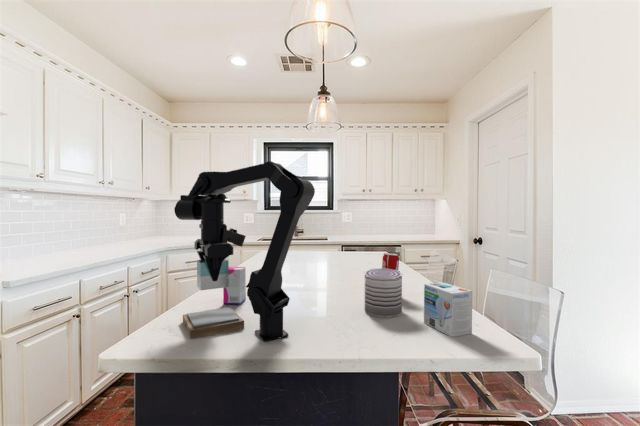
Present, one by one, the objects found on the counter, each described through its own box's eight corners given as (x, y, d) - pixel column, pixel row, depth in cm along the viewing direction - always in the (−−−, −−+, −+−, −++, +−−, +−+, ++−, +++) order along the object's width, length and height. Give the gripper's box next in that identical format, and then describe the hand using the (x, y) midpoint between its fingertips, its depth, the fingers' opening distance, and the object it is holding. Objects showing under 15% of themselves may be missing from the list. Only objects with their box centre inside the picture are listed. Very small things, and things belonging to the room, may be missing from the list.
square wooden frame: (244, 328, 83) (244, 318, 82) (190, 338, 76) (190, 328, 76) (230, 314, 94) (230, 305, 94) (182, 322, 87) (182, 313, 87)
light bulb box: (422, 323, 87) (423, 283, 87) (442, 320, 89) (442, 281, 89) (451, 337, 77) (452, 293, 77) (473, 334, 79) (473, 290, 79)
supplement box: (246, 300, 109) (246, 266, 108) (240, 305, 103) (240, 269, 103) (229, 299, 109) (229, 266, 109) (222, 304, 103) (222, 269, 103)
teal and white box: (223, 283, 89) (223, 258, 89) (228, 286, 84) (228, 260, 84) (197, 286, 85) (197, 260, 85) (200, 290, 81) (200, 262, 81)
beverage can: (377, 294, 116) (377, 252, 116) (393, 292, 118) (393, 252, 118) (385, 298, 110) (385, 255, 110) (402, 296, 112) (402, 254, 112)
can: (408, 310, 98) (408, 271, 97) (391, 320, 89) (391, 277, 89) (375, 303, 105) (375, 266, 105) (356, 311, 96) (356, 272, 96)
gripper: (253, 220, 81) (253, 282, 81) (233, 218, 97) (233, 270, 97) (207, 221, 75) (208, 288, 75) (193, 219, 91) (194, 274, 91)
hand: (212, 279), depth 85 cm, fingers closed on teal and white box, 5 cm apart
